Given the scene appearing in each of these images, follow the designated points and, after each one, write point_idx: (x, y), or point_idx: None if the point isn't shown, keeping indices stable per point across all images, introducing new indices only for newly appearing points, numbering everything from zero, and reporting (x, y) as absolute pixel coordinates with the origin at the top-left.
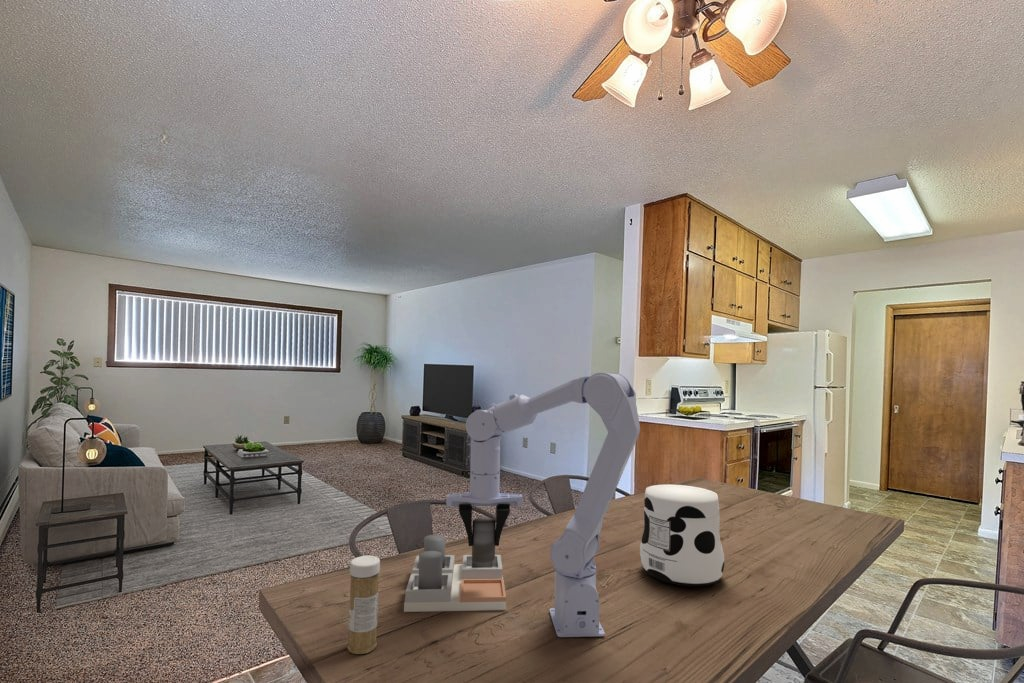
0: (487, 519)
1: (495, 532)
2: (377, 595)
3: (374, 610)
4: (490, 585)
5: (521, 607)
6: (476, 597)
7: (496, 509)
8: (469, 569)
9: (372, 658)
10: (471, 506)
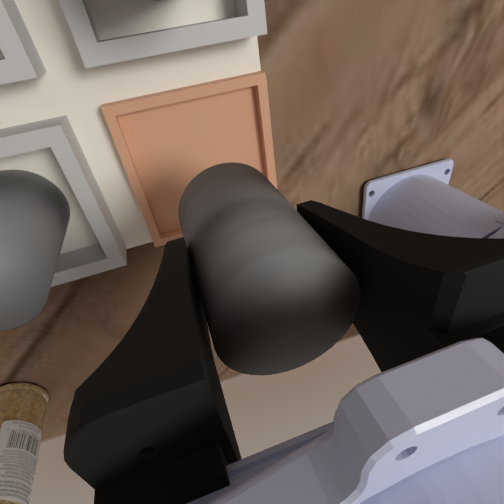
0: (311, 289)
1: (323, 237)
2: (26, 499)
3: (34, 472)
4: (220, 115)
5: (304, 174)
6: None
7: (417, 335)
8: (119, 60)
9: (63, 406)
10: (226, 446)
